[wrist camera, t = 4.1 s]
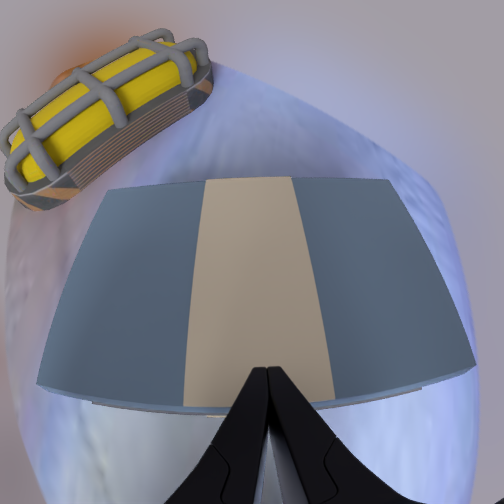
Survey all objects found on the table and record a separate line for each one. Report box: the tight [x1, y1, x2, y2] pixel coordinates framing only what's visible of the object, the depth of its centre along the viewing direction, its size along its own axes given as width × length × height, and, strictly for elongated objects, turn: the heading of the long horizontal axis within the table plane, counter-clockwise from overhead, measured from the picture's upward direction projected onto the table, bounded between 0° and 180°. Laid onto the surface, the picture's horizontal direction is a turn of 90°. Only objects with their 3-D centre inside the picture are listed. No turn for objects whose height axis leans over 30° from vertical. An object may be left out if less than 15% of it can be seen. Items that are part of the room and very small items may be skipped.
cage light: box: [0, 28, 213, 211], centre depth 28 cm, size 15×8×30 cm
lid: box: [36, 176, 476, 413], centre depth 13 cm, size 13×18×1 cm
